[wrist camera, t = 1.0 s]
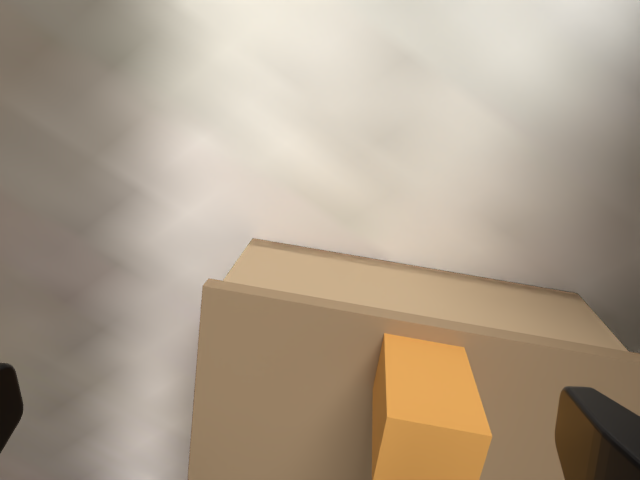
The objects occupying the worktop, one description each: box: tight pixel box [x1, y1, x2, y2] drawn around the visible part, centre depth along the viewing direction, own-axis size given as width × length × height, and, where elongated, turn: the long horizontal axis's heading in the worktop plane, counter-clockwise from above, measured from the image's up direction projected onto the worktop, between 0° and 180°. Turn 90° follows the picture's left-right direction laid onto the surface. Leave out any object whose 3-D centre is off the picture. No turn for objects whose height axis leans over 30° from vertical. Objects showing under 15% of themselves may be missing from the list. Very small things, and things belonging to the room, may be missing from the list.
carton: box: [223, 238, 629, 352], centre depth 21 cm, size 13×16×5 cm
